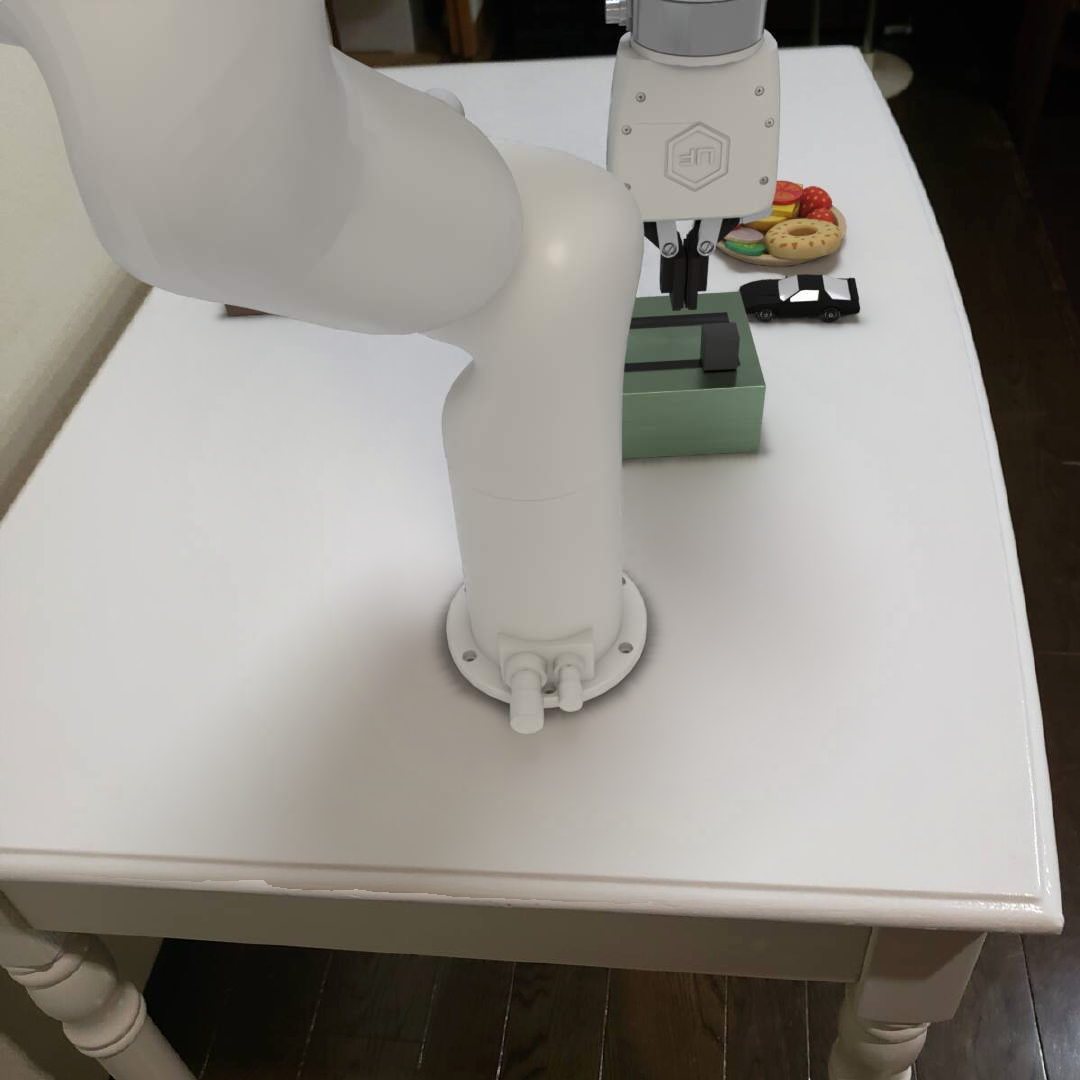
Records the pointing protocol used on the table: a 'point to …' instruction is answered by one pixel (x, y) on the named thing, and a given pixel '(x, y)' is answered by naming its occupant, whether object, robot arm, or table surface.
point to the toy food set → (789, 229)
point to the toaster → (688, 382)
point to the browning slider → (719, 346)
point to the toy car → (801, 297)
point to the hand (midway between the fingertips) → (682, 299)
